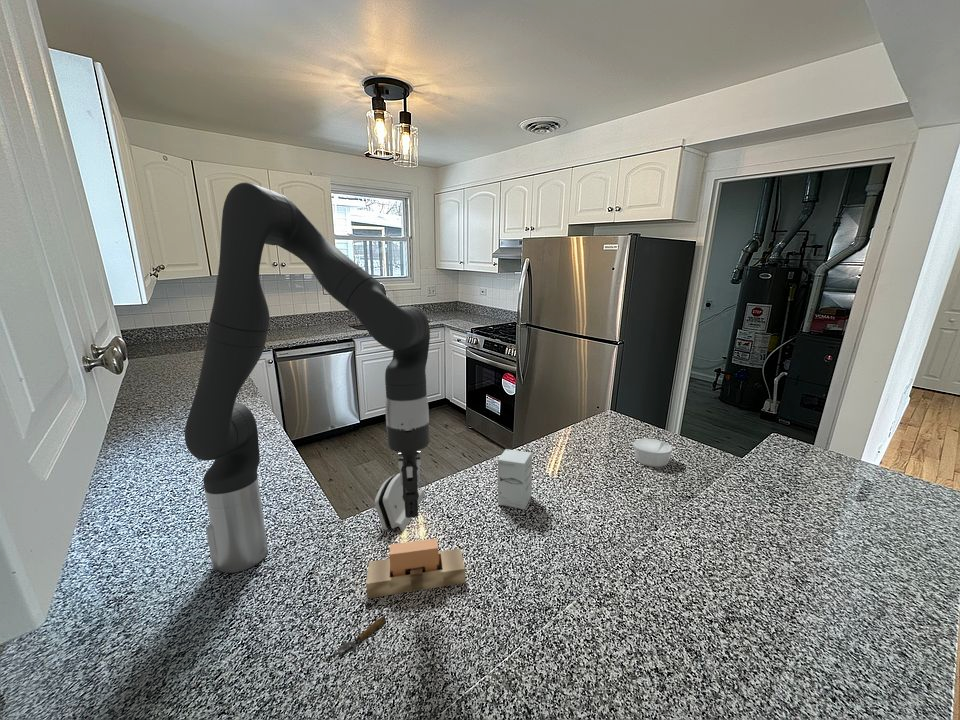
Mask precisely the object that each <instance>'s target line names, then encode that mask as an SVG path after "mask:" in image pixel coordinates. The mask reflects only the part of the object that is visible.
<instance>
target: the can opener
mask: <svg viewBox="0 0 960 720" xmlns="http://www.w3.org/2000/svg"><path fill="white" fill-rule="evenodd" d="M386 622H387V620H386V617H385V616H383V615H381V617H380V618H378V619H376V620H374V622H372V623H371V624H370V625H369V626H368V627H367V628H366V629H365V630H364V631H363V632H361V633H360V634H358V635H357V636H356V637H355V639H354V640H353V641H347V642H345V643H344V644H343V645H341V646H340V647H339V648H338V649H337V650H336V651H338V652H336V651H335V653H334V655H335V656H337V654H338V656H339V657H340V658H341V657H342V653H343V652H345V653H348V651H350V652H353V651H354V650H356V648H357V647H358V646H357V645H358V644H360V643H362V642H363V641H364V640H365V639H367V638H368V637H369V636H370V635H371V634H373V633H374V632H375V631H377V630H378V629H379V628H381V627H382V626H383V625H385V623H386ZM351 648H352V649H351Z"/></svg>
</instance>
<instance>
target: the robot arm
mask: <svg viewBox="0 0 960 720" xmlns="http://www.w3.org/2000/svg"><path fill="white" fill-rule="evenodd" d="M223 203H224V204H223V208H222V216H221V226H220V227H221V230H220V248H219V260H218V261H219V263H218V270H217V276H216V277H217V278H216V285H215V292H214V298H213V304H212V308H211V314H210V318H209V322H208V328H207V335H206V343H205V350H204V355H203V360H202V363H201V369H200V375H199V379H198V383H197V388H196V392H195V394H194V398H193V400H192V403H191V406H190V410H189V413H188V415H187V420H186V423H185V428H184V441H185V446H186V448H187V450H188V452H189V453H190V454H191V455H192V456H193V457H194V458H196V459H197V460H199V461H200V460H201V461H213V463H212V464H211V466H210V467H209V468H208V470H207V471H206V472H205V474H204V476H203V479H202V482H203V489H204V494H205V495H204V496H205V500H206V505H207V513H208V518H209V524H208V525H207V526H206V529H205V531H206V536H207V537H206V538H207V543H208V548H209V553H210V560H211V567H212V571H219V572H221V573H227V574H232V573H233V574H234V573H238V572H243V571H245V570H248V569H250V568H252V567H254V566H255V565H257V564H258V563H260V562H262V561H263V560H264V559H265V557H266V556H267V554H268V552H269V550H268V549H269V547H268V540H267V533H266V526H265V519H264V512H263V506H262V505H263V504H262V498H261V491H260V483H259V482H260V481H259V477H258V475H259V474H258V468H259V465H260V460H261V459H260V458H261V457H260V444H259V443H260V442H259V430H258V425H257V421H256V418H255V416H254V414H253V413H252V411H251V410H250V408H249V407H247V406H246V405H244V404H243V403H239V402H236V400H237V397H238V394H239V392H240V390H241V389H242V387H243V385H244V384H245V382H246V381H247V379H248V377H250V375H251V374H252V373H253V370H254V369H255V367H256V365H257V364H258V363H259V360H260V359H261V357H262V354H263V352H264V348H265V346H266V342H267V336H268V332H269V326H270V311H269V307H268V306H269V305H268V304H267V300H266V297H265V293H264V291H263V287H262V283H261V278H260V265H261V261H262V256H263V251H264V246H265V245H269V246H277V247H279V248H281V249H283V250H286V251H287V252H288V253H290V254H293V255H294V256H295V257H296V258H298V259H300V260H301V261H302V262H303V263H304V264H305V265H306V266H307V267H308V268H309V269H310V271H311V272H312V273H313V275H314V277H315V278H316V280H317V282H319V284H320V285H321V287H322V288H323V289H324V290H325V291H326V293H328V294H329V295H330V296H331V297H332V298H333V299H335V300H336V301H337V302H338V303H340V305H342V306H343V307H344V308H346V309H347V310H348V311H349V312H351V313H352V314H354V315H355V316H356V318H357V319H358V321H359V322H360V323H361V325H362V326H363V328H364V329H365V330H366V331H367V333H369V334H370V336H371V337H372V338H373V339H374V341H376V342H378V343H379V344H380V345H381V346H383V347H384V348H386V349H388V350H391V351H392V359H391V361H390V363H389V364H387V367H386V369H385V373H384V375H385V377H384V381H385V383H384V384H385V399H386V400H385V425H386V426H385V427H386V429H385V430H386V441H387V442H386V443H387V447H388V449H390V450H392V452H398V460H397V462H398V463H397V464H398V465H397V466H398V469H399V473H400V483H401V485H403V496H402V498H403V501H405V516H406V517H407V518H411V517H412V518H417V517H418V515H419V507H418V497H419V492H418V488H419V487H418V486H419V484H420V483H421V469H420V468H421V465H422V462H421V459H422V457H421V451H420V450H424V449H425V448H427V447H428V446H429V444H430V442H431V441H430V440H431V439H430V438H431V437H430V436H431V435H430V413H429V412H430V410H429V402H428V396H427V374H426V369H427V361H428V358H429V357H428V356H429V349H430V340H431V338H430V337H431V330H430V329H431V327H430V323H429V320H428V317H427V315H426V314H425V313H424V311H422V309H420V308H418V307H415V306H410V305H409V306H402V307H400V306H399V305H397V304H396V303H394V302H393V301H392V300H391V299H390V298H389V297H388V296H387V290H386V289H385V286H383V285H382V283H380V281H378V280H377V279H376V278H375V277H373V276H372V275H371V274H369V273H368V271H366V270H365V269H364V268H362V267H361V266H360V265H359V264H357V263H356V262H355V261H353V260H352V259H351V258H350V257H348V256H347V255H346V254H345V253H343V251H341V250H340V249H339V248H337V246H335V245H334V244H333V243H332V242H331V241H330V240H329V239H328V238H327V237H326V236H325V235H324V234H322V232H321V231H320V230H319V229H318V228H317V227H316V226H315V225H314V224H313V223H312V222H311V220H310V219H308V217H307V215H305V214H304V213H303V211H302V210H301V209H300V208H299V207H298V206H297V205H296V204H295V203H294V202H293V201H292V200H291V199H290V198H289V197H287V196H285V195H284V194H282V193H279V192H277V191H274V190H271V189H268V188H266V187H264V186H261V185H258V184H254V183H251V182H240V183H238V184H235V185H233V187H232V188H230V190H229V192H228V193H227V195H226V197H225V200H224V202H223Z"/></svg>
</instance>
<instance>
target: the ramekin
mask: <svg viewBox="0 0 960 720" xmlns="http://www.w3.org/2000/svg"><path fill="white" fill-rule="evenodd" d="M632 446H633V450H634V457H635V459H636V461H637V462H638V463H639V464H641V465H644V466H647V467H651V468H660V467H664V466H667V465H668V464H669V462H670V458H671V454H672V453H673V447H672V445H670V444H669V443H667V442H665V441H663V440H658V439H653V438H641V439H640V438H639V439H636V440H635V441H633V443H632Z"/></svg>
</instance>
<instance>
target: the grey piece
mask: <svg viewBox="0 0 960 720" xmlns="http://www.w3.org/2000/svg"><path fill="white" fill-rule="evenodd" d="M419 489H420V490H419ZM418 492H419V497H418V506H419V504H420V502H421V501H422V499H423V497H424V496H425V495H426V494H425V491H424V489H422V488H420V487H418ZM402 496H403V485H401V483H400V472H398V473H395V474H393V475H391V476H390V477H389V478H387V479H386V480H385V481H384V482H383V483H382V484H381V485H380V488H379V490H378V492H377V494H376V496H375V499H374V507H375V510H376V513H377V516H378V519H379V522H380V525H381V528H382V530H383V529H385V530H384V531H388V530H389V528H391V529H395V528H397V527H398V528H399V529H400V531H401V532H404V531H405V530H406V528H407V527H406V526H408V525H409V523H410V522H411V520H412V519H413V517H411V518H412V519H411V518H407V517H406V516H405V501H403V498H402ZM425 497H426V496H425ZM423 500H424V499H423ZM422 502H423V501H422ZM422 502H421V503H422ZM420 505H421V504H420ZM419 507H420V506H419ZM404 529H405V530H404Z"/></svg>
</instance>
